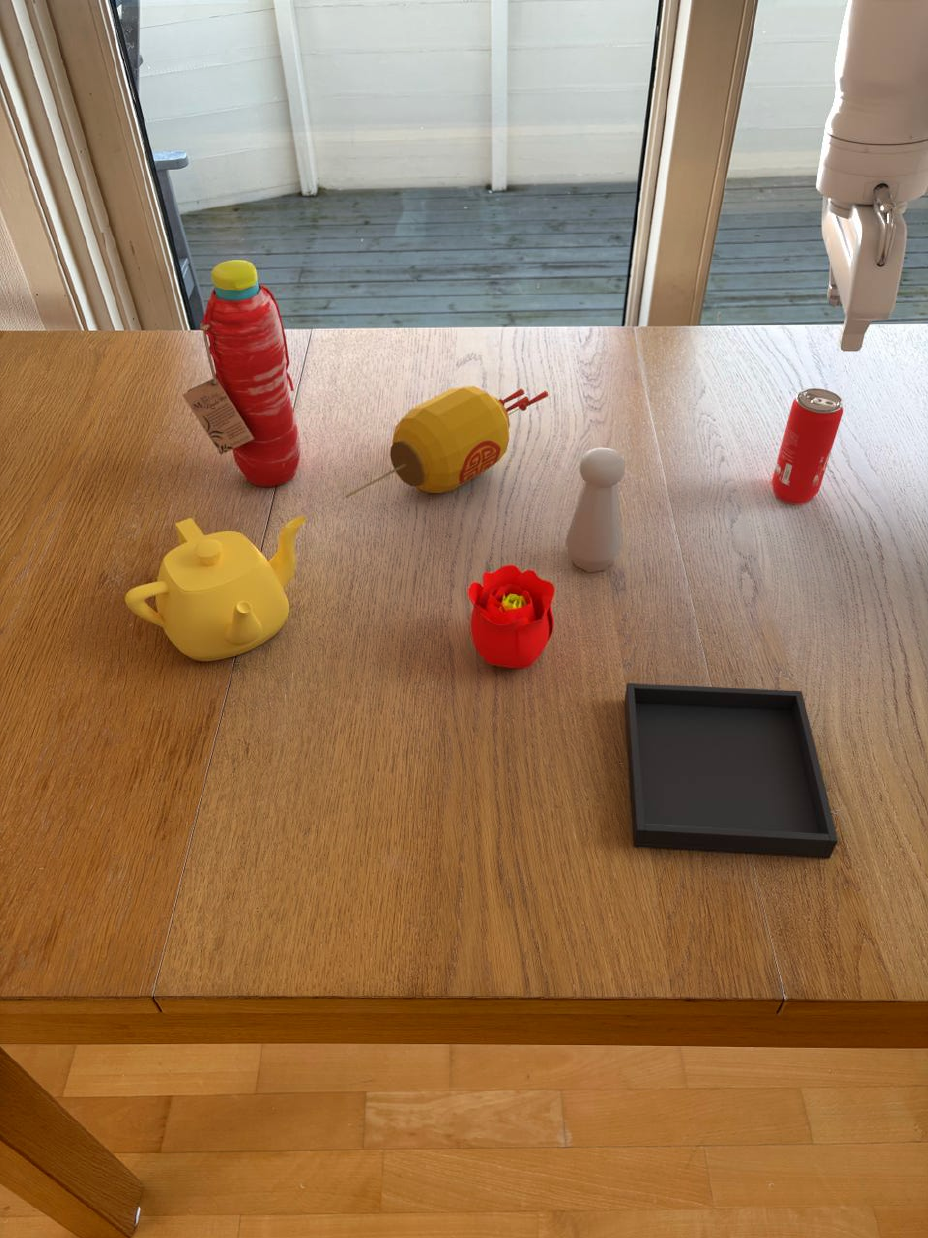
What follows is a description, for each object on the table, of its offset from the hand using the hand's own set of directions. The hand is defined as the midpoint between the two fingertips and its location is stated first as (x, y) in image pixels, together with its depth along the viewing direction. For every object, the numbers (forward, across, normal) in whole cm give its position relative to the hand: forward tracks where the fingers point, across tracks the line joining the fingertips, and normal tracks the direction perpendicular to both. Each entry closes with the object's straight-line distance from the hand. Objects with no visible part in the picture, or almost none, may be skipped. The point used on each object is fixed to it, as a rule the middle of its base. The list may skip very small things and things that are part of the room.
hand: (842, 324), depth 88 cm
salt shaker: (+22, -9, +22) cm, 33 cm away
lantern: (+20, +3, +39) cm, 44 cm away
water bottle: (+19, -1, +61) cm, 64 cm away
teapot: (+20, -25, +56) cm, 64 cm away
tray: (+24, -35, +10) cm, 44 cm away
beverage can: (+23, +6, +1) cm, 24 cm away
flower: (+22, -24, +29) cm, 44 cm away
